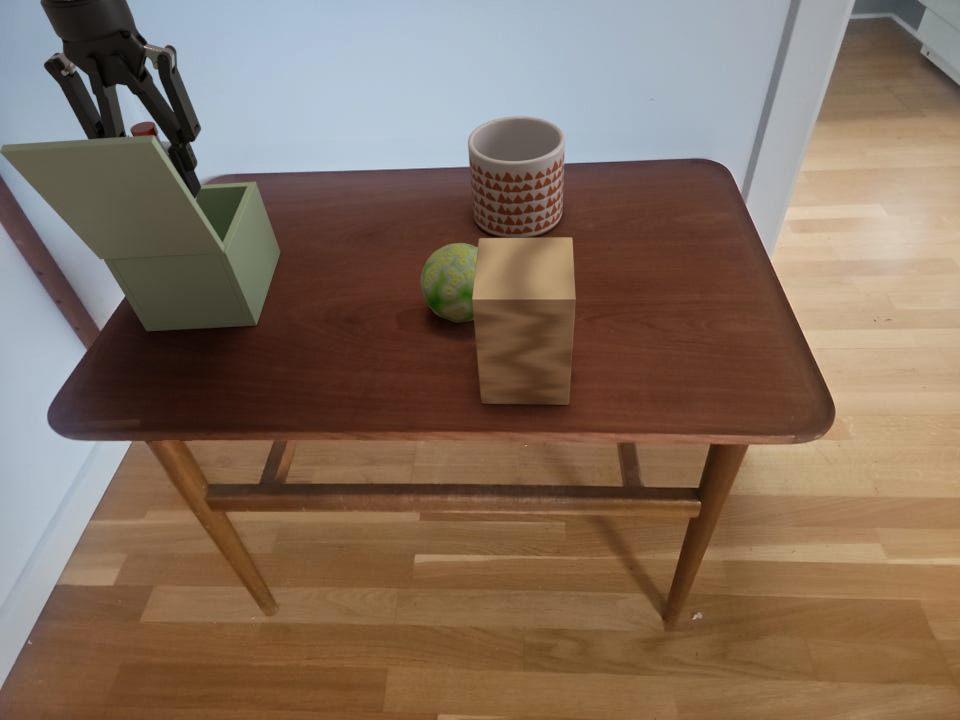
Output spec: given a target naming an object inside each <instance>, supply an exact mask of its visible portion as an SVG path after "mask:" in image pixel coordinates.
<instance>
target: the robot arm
mask: <svg viewBox="0 0 960 720" xmlns="http://www.w3.org/2000/svg"><path fill="white" fill-rule="evenodd" d="M40 5H41V7H42V10H43V11H44V13H45V15H46V17H47V19H48V21H49V23H50V25H51V28H52V30H53V31H54V33H55V35H56V36H57V37H58V38H60V40H61V42H62V52H55V53H54V54H52V56H50V57H49V58H48V59H47V60H46V61H45V62H44V63H43V68H44V69H45V71H46V72H47V73H48V74H49V75H50V76H51V77H52V78H53V80H54V81H55V82H56V83H57V84H58V85H59V87H60V89H61V91H62V92H63V94H64V96H65V98H66V100H67V102H68V104H69V106H70V108H71V110H72V112H73V113H74V115H75V117H76V119H77V121H78V123H79V124H80V127H81V128H82V131H83V132H84V134H85V136H86V139H103V138H119V137H130V135H128V134H127V132H126V128H125V123H124V119H123V114H122V111H121V106H120V101H119V97H118V91H117V85H119V86H125V87H127V88H128V89H129V91H130V93H131V94H132V95H134V96H136V97H137V98H138V100H140V102H141V104H142V105H143V107H144V108H145V110H146V111H147V112H148V113H149V115H150V116H151V118H152V120H153V121H154V123H155V124H156V126H158V128H159V129H160V131H161V132H162V134H163V135H164V136H165V137H166V139H167V140H168V142H170V143H171V146H170V147H169V149H168V150H167V151H168V153H169V155H170V157H171V160H172V162H173V164H174V166H175V169H176V171H177V172H178V174H179V175H180V177H181V178H182V180H183V182H184V183H185V185H186V186H187V188H188V189H189V191H190V193H191V194H192V196H193V197H194V199H195V198H196V196H197V194H198V192H199V190H200V189H201V185H202V184H201V183H200V180H199V178H198V175H197V174H196V171H195V169H196V168H197V166H198V159H197V157H196V154H195V152H194V149H193V147H192V145H191V143H193V142H195V141H196V140H197V138H198V136H199V134H200V133H201V131H202V127H201V124H200V121H199V119H198V116H197V114H196V110H195V109H194V106H193V104H192V102H191V99H190V96H189V94H188V91H187V88H186V86H185V83H184V81H183V78H182V76H181V74H180V71H179V69H178V53H177V49H176V48H175V47H174V46H172V45H171V44H167V45H165V46H164V47H161V46H158V45H154V44H151V43H148V41H147V40H146V38H145V37H144V36H143V35H142V34H141V33H140V32H139V30H138V28H137V25H136V22H135V18H134V16H133V13H132V10H131V8H130V6H129V3H128V1H127V0H40ZM147 58H148V59H149V60H150V62H151V64H152V68H153V69H154V70H157V73H158V77H159V80H160V83H161V85H162V88H163V90H164V93H165V94H166V97H167V99H168V102H169V104H170V105H169V104H168V102H167V100H166V99H165V97H164V96H163V94H162V93H161V91H160V90H159V88H158V87H157V85H156V84H155V83H154V77H153V76H152V74H151V73H150V71H149V70H148V68H147V67H146V62H147ZM77 68H78V69H79V70H81V71H82V72H83V73H84V74H85V75H87V77H88V80H89V85H90V90H91V92H92V94H93V95H94V96H95V99H96V103H97V106H98V107H97V106H96V105H95V102H94V101H93V98H92V97H91V94H90V92H89V91H88V89H87V86H86V84H85V82H84V80H83V78H82V77H81V75H80V73H79V72H78V71H77Z"/></svg>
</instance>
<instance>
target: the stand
mask: <svg viewBox="0 0 960 720" xmlns="http://www.w3.org/2000/svg"><path fill="white" fill-rule="evenodd" d="M573 241H574V240H573V237H571V236H570V237H565V236H562V237H561V236H560V237H557V236H556V237H532V238H500V237H479V238H478V243H477V247H478V251H477V260H476V269H475V278H474V287H473V296H472V304H473V315H474V320H473V324H474V325H473V326H474V336H475V337H474V338H475V347H476V348H475V349H476V358H477V368H478V369H477V372H478V381H479V392H480V403H481V405H482V404H483V405H547V406H558V405H559V406H568V405H570V394H571V393H570V391H571V378H572V377H571V376H572V375H571V374H572V362H573V361H572V360H573V345H574V331H575V315H576V297H577V296H576V283H575V282H576V281H575V280H576V279H575V265H574V264H575V263H574V243H573Z"/></svg>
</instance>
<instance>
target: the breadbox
mask: <svg viewBox="0 0 960 720" xmlns="http://www.w3.org/2000/svg"><path fill="white" fill-rule="evenodd" d="M200 185H201V189H200V190H199V192H198V194H197V199H196V202H197V203H198V205H199V207H200V208H201V210H202V211H203V213H204V214H205V216H206V218H207V219H208V221H209V222H210V224H211V225H212V227H213V229H214V230H215V232H216V233H217V235H218V236H219V238H220V240H221V241H222V243H223V244H224V246H225V247H224V252H221V253H203V254H186V255H168V256H151V257H133V258H116V259H103V262H104V263H105V265H106V267H107V268H108V270H109V271H110V273H111V275H112V277H113V278H114V279H115V281H116V283H117V284H118V286H119V288H120V290H121V291H122V293H123V294H124V296H125V298H126V300H127V301H128V303H129V305H130V307H131V308H132V310H133V311H134V313H135V315H136V316H137V318H138V319H139V321H140V323H141V325H142V326H143V328H144V330H145V331H146V332H159V331H160V332H161V331H178V330H179V331H180V330H199V329H215V328H216V329H217V328H233V327H234V328H235V327H237V328H238V327H254V326H258V323H259V320H260V317H261V313H262V312H263V311H262V310H263V308H264V305H265V302H266V298H267V295H268V292H269V290H270V286H271V283H272V280H273V277H274V274H275V270H276V268H277V264H278V261H279V258H280V255H281V249H280V246H279V244H278V241H277V239H276V235H275V233H274V232H275V231H274V230H273V227H272V224H271V221H270V218H269V215H268V213H267V209H266V207H265V204H264V201H263V198H262V195H261V193H260V189H259V186H258V184H257V182H256V181H246V182H231V183H229V182H228V183H212V184H200Z"/></svg>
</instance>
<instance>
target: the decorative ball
mask: <svg viewBox="0 0 960 720" xmlns="http://www.w3.org/2000/svg"><path fill="white" fill-rule="evenodd" d="M477 251H478V246H474V245H473V244H470V243H466V242H458V243H455V242H454V243H449V244H446V245H444V246H442V247H440V248H438V249H436V250H435V251H434V252H433V253H431V255H430V256H429V257H428V258H427V260H426V261H425V264H424V267H423V268H422V270H421V275H420V280H419V281H420V289H421V293H422V296H423V298H424V300H425V302H426V305H427V306H428V308H429V309H431V311H432V313H434V314H435V315H436V316H438V317H440V318H442V319H446V320H448V321H450V322H453V323H464V322H465V323H466V322H472V321H474V315H473V304H472V296H473V287H474V278H475V269H476V260H477Z"/></svg>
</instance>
